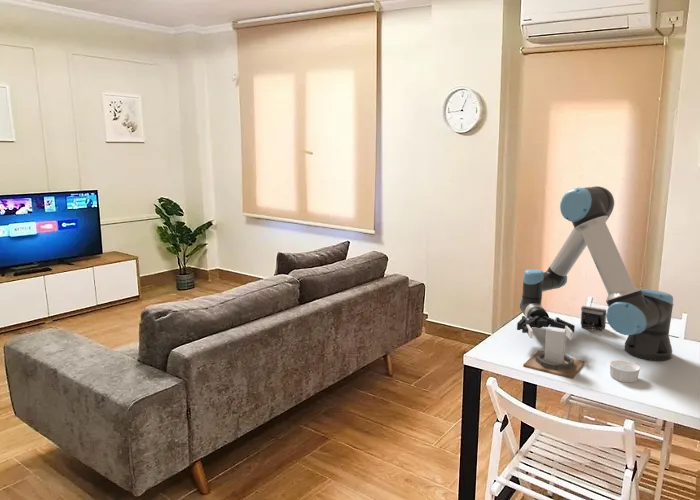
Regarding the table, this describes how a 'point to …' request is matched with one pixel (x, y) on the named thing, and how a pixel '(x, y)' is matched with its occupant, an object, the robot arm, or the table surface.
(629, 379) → the ramekin
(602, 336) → the table surface
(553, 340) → the skincare box
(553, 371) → the wooden board with ring
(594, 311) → the electrical switch
